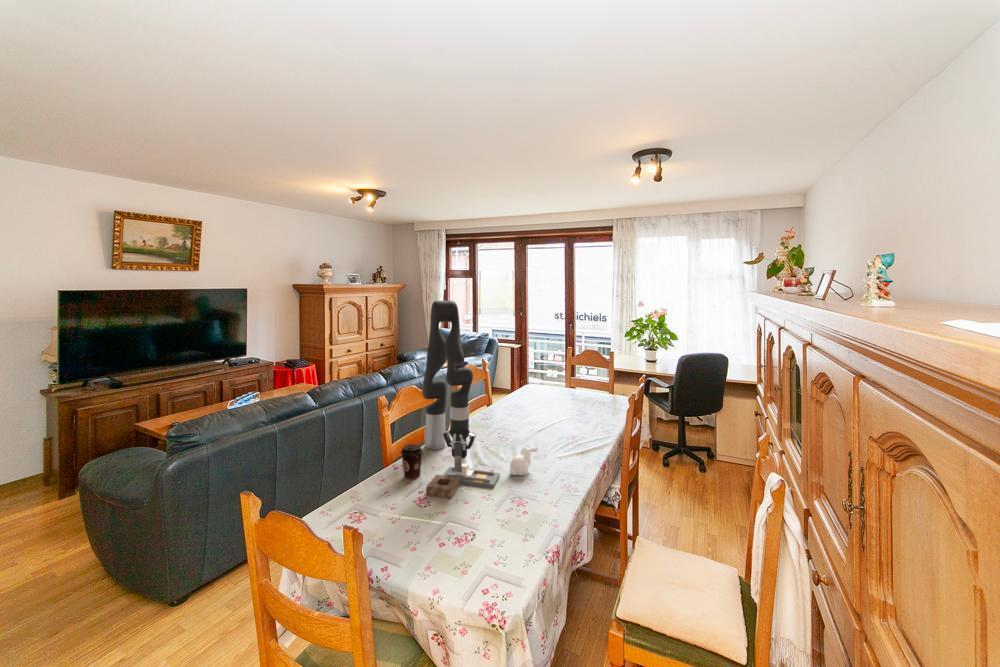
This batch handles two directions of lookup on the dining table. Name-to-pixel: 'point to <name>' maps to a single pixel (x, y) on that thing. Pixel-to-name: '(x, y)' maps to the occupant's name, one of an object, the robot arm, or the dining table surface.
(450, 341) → the robot arm
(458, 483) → the brown wooden socket block
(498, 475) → the switch panel
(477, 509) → the dining table surface
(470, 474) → the switch slider
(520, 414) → the dining table surface
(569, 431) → the dining table surface
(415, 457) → the coffee cup
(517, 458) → the rabbit
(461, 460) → the pin tool
